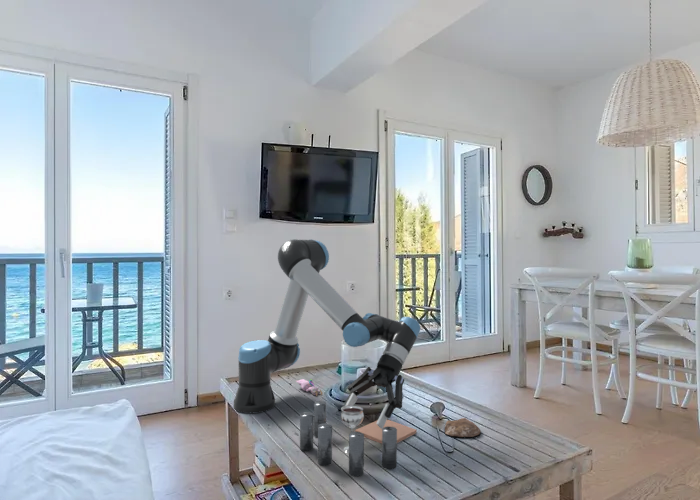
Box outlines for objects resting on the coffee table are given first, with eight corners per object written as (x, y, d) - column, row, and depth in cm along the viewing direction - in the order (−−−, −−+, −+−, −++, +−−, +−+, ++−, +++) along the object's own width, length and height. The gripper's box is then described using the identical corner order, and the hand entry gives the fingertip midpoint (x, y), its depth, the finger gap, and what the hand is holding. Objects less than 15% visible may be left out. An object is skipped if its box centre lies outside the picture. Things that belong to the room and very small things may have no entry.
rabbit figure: (325, 397, 179) (303, 383, 190) (326, 383, 178) (304, 369, 189) (312, 401, 175) (291, 386, 185) (314, 387, 174) (292, 372, 185)
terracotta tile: (355, 433, 142) (355, 429, 142) (382, 420, 152) (382, 417, 152) (389, 447, 132) (389, 443, 132) (416, 432, 142) (416, 429, 142)
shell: (481, 427, 149) (481, 416, 149) (480, 443, 137) (480, 431, 137) (446, 422, 152) (446, 412, 152) (442, 437, 140) (442, 426, 140)
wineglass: (348, 456, 126) (348, 414, 126) (336, 447, 132) (336, 407, 131) (367, 451, 129) (368, 410, 129) (355, 442, 135) (355, 403, 135)
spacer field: (283, 446, 132) (283, 412, 132) (320, 431, 143) (320, 400, 143) (363, 487, 110) (363, 447, 110) (399, 465, 121) (399, 429, 121)
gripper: (429, 374, 136) (400, 438, 125) (368, 359, 153) (338, 415, 142) (420, 360, 132) (389, 425, 121) (358, 347, 149) (326, 402, 138)
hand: (361, 419), depth 132 cm, fingers open, 13 cm apart
